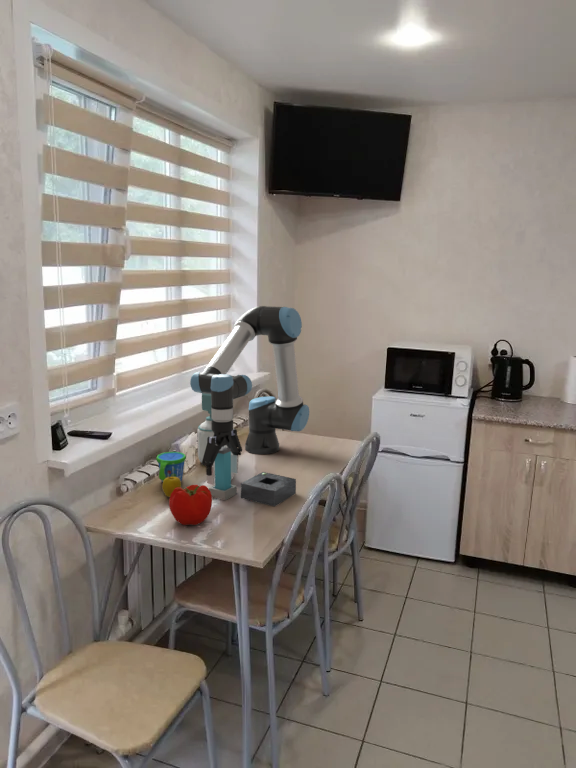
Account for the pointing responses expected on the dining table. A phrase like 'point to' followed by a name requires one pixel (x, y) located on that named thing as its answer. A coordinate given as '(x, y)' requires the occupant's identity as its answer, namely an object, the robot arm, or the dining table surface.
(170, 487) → the apple
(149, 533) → the dining table surface
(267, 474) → the port
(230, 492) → the holster
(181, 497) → the tomato
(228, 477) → the plug
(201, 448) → the soap bottle
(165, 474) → the snack cup
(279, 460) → the dining table surface
